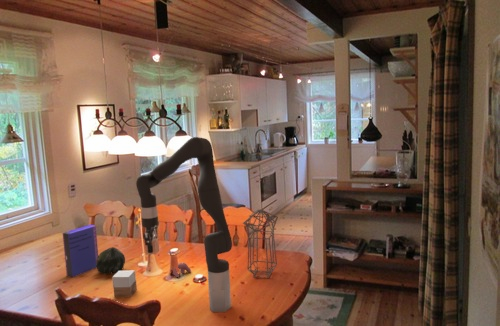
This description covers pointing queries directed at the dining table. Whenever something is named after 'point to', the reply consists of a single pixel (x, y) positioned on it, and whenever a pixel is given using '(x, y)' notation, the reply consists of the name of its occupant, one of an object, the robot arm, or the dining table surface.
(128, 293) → the tower bottom
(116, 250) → the squash
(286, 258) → the dining table surface
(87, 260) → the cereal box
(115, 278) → the tower top
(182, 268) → the video game controller
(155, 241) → the beige block
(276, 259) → the geometric lantern
